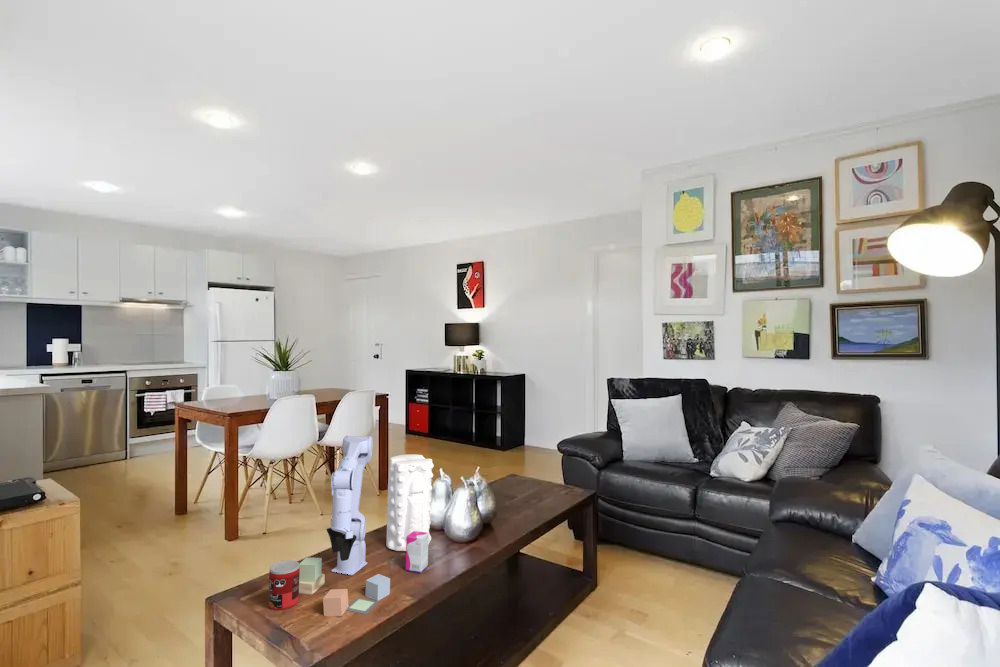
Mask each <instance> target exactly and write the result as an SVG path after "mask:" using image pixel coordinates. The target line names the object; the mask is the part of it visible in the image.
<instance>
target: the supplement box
mask: <svg viewBox="0 0 1000 667" xmlns="http://www.w3.org/2000/svg"><path fill="white" fill-rule="evenodd" d="M429 534H430V532H429V533H427V532H419V531H413V532H412V533H411V534H409V535H408V536H407V539H406V551H405V554H406V555H405V572H409V573H410V572H411V573H415V574H422V573H423V572H424V571H425V570H426V569H427V568H428V567H427V566H429V544H428V538H429Z"/></svg>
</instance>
